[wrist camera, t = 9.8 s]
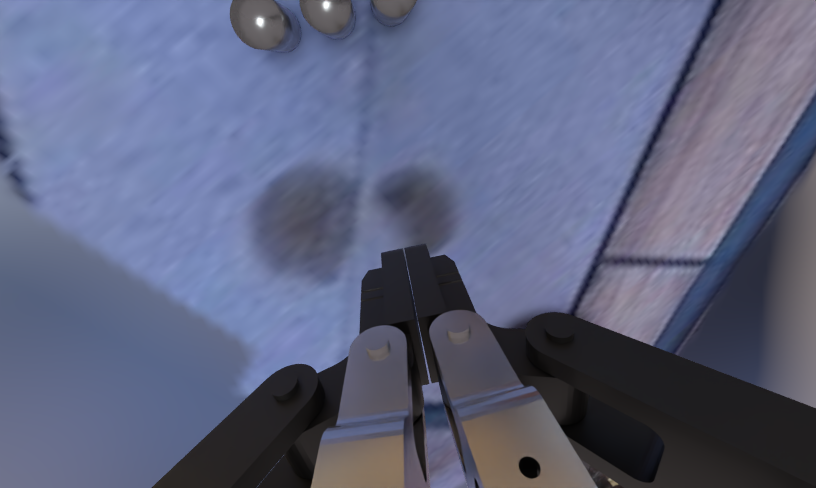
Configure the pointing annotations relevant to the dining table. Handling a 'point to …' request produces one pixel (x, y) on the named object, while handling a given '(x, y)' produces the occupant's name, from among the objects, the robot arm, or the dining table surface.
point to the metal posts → (322, 9)
